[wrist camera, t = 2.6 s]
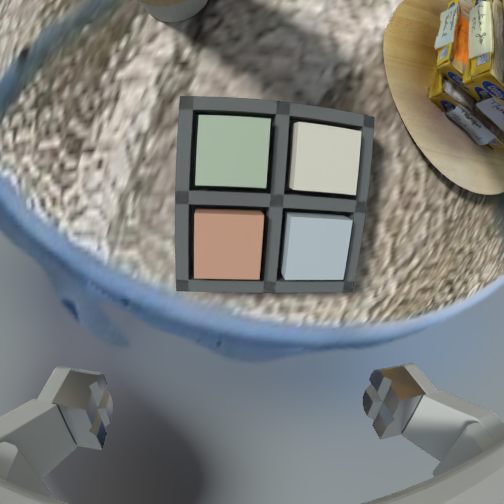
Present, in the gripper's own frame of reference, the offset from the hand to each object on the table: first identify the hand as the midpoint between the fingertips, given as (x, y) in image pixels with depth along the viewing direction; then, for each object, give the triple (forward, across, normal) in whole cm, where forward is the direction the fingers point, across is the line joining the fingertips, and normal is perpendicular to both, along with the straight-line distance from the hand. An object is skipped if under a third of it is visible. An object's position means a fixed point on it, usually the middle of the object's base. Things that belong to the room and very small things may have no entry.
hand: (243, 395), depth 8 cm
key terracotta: (+17, 0, 0) cm, 17 cm away
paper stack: (+20, -27, -19) cm, 38 cm away
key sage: (+17, 0, -7) cm, 18 cm away
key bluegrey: (+17, -7, 0) cm, 19 cm away
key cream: (+17, -7, -7) cm, 20 cm away
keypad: (+20, -4, -3) cm, 21 cm away
